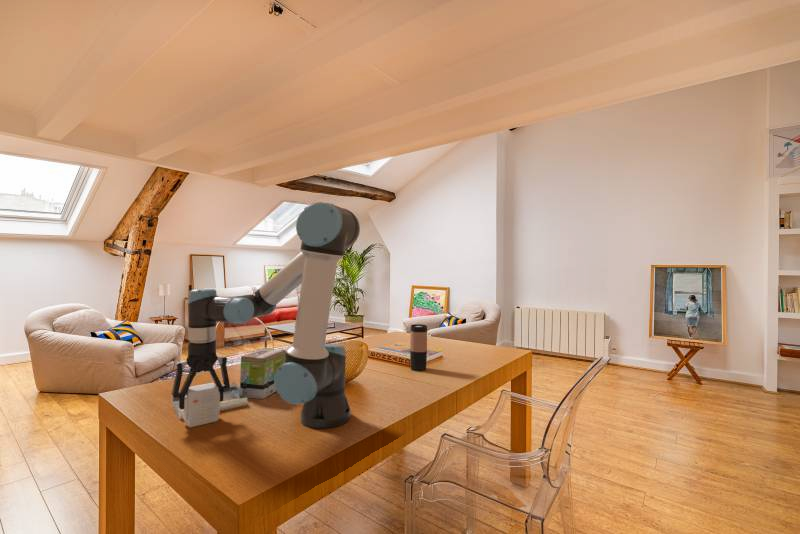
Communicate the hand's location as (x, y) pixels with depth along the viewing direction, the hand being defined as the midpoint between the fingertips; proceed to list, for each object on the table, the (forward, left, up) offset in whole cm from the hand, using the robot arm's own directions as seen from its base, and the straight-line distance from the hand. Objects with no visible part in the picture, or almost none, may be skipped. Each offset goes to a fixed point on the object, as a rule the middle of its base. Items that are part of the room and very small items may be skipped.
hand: (201, 415), depth 116 cm
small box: (0, 0, -2) cm, 2 cm away
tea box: (+16, -24, -2) cm, 29 cm away
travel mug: (+5, -91, -2) cm, 91 cm away
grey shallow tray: (+13, -5, -2) cm, 14 cm away
